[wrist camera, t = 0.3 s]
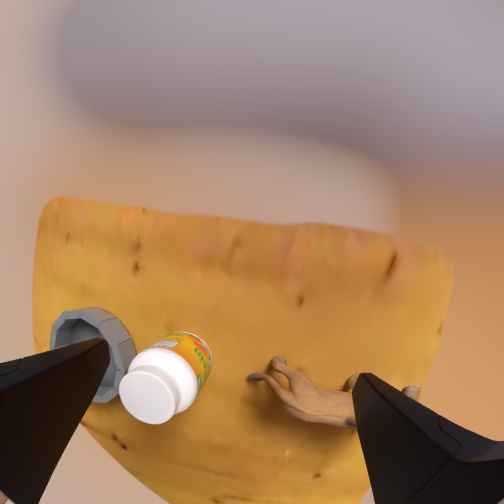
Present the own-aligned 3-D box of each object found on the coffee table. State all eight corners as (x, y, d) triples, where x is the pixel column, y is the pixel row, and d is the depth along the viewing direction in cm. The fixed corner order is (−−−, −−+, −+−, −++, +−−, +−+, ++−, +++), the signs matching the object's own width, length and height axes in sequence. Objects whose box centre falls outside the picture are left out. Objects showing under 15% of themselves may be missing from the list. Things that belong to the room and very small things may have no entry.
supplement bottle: (218, 380, 23) (195, 433, 14) (166, 384, 24) (124, 431, 14) (206, 326, 24) (173, 358, 14) (153, 333, 24) (100, 361, 14)
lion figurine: (395, 362, 23) (443, 394, 14) (381, 408, 23) (420, 450, 14) (253, 350, 24) (248, 390, 15) (244, 399, 23) (236, 453, 14)
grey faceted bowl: (103, 404, 24) (89, 415, 20) (56, 337, 24) (39, 341, 21) (155, 365, 24) (142, 376, 21) (99, 289, 25) (81, 290, 21)
